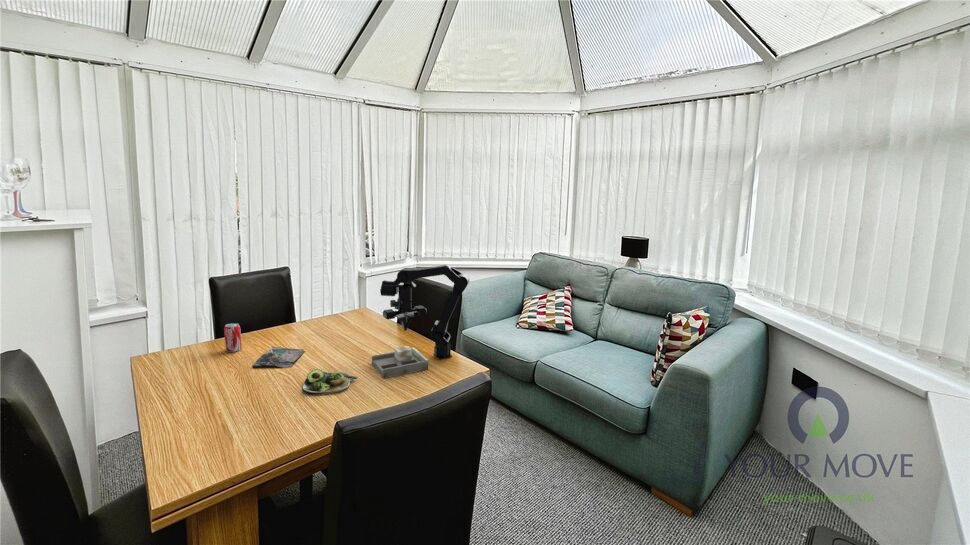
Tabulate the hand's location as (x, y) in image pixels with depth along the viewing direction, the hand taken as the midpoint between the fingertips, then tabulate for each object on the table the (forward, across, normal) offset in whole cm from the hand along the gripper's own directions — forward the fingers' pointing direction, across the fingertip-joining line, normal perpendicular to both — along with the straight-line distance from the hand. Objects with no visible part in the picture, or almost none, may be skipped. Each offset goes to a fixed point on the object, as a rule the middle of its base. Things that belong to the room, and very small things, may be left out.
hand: (405, 330), depth 195 cm
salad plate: (+12, +38, +15) cm, 42 cm away
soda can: (+11, +66, -37) cm, 77 cm away
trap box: (+11, +7, +12) cm, 18 cm away
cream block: (+9, +4, +8) cm, 13 cm away
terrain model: (+12, +49, -19) cm, 54 cm away
